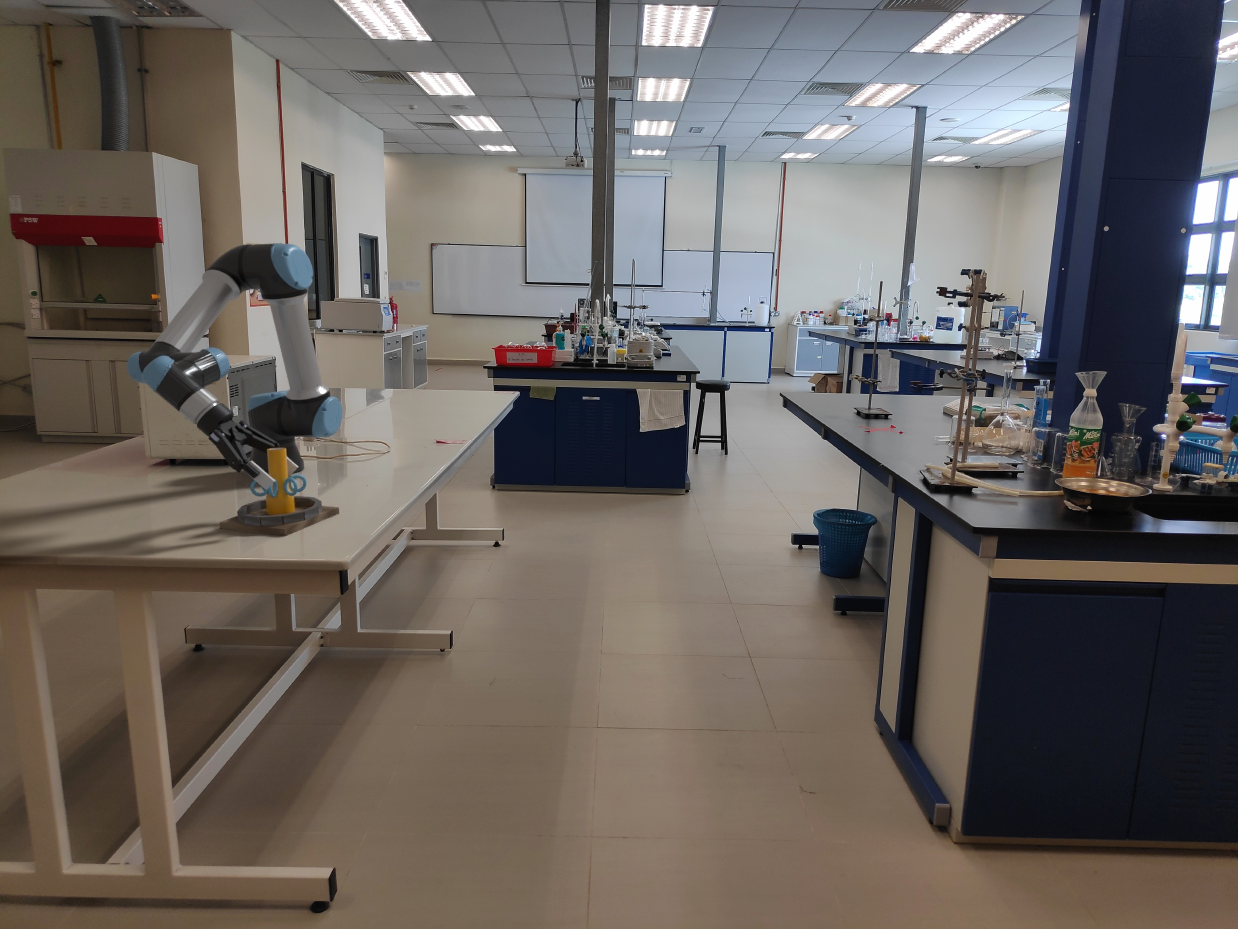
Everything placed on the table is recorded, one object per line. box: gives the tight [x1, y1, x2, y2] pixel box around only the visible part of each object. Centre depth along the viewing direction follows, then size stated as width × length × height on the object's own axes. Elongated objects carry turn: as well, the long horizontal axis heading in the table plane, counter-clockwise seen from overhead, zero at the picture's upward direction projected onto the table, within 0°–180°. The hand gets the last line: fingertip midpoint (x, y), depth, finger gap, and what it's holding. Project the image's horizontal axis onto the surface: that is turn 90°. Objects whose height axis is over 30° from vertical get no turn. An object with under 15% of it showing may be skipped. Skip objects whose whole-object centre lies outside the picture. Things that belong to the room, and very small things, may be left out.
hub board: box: [219, 495, 340, 537], centre depth 181 cm, size 18×18×4 cm
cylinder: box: [250, 448, 308, 515], centre depth 180 cm, size 12×10×15 cm
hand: (283, 478), depth 179 cm, fingers open, 13 cm apart
